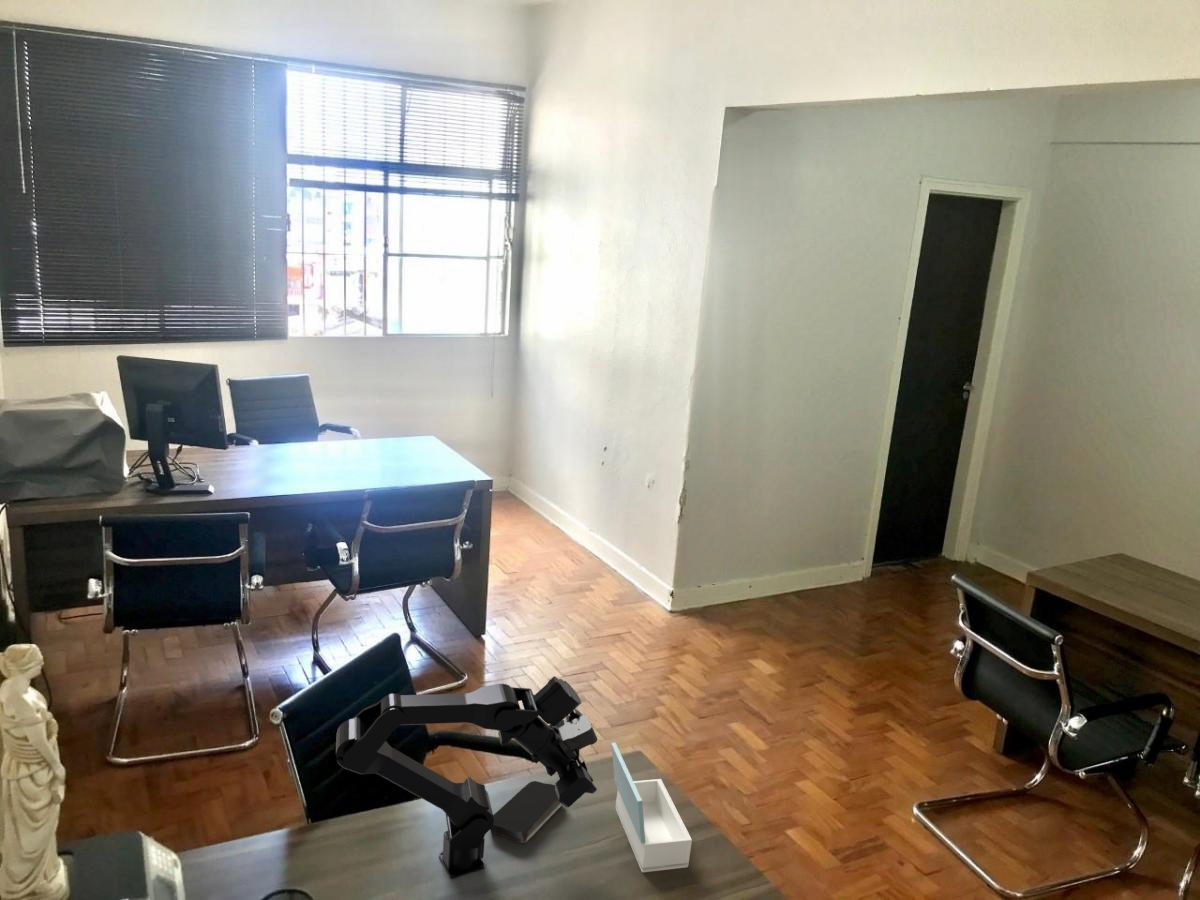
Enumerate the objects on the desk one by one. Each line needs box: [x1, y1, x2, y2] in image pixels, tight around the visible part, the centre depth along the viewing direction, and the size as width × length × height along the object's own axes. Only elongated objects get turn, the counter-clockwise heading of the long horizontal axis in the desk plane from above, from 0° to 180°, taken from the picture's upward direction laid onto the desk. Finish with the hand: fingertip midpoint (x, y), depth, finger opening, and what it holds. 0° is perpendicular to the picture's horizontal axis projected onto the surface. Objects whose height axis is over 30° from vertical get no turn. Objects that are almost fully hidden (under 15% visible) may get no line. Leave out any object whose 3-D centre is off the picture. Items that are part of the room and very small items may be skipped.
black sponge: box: [489, 780, 563, 843], centre depth 174 cm, size 16×8×4 cm, turn 151°
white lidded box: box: [615, 778, 693, 873], centre depth 172 cm, size 9×18×6 cm, turn 15°
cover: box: [610, 742, 645, 844], centre depth 168 cm, size 9×18×1 cm
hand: (593, 786), depth 164 cm, fingers open, 2 cm apart
